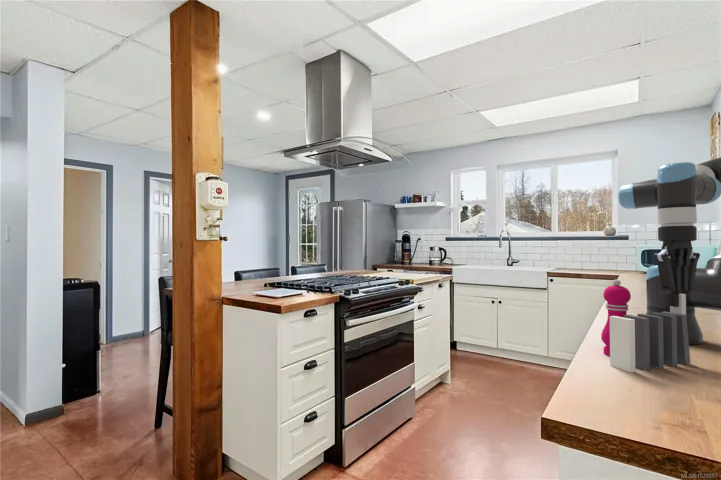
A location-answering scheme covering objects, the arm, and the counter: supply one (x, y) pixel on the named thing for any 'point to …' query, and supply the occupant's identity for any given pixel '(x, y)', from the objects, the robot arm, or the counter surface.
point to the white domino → (622, 343)
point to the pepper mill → (614, 308)
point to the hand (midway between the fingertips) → (678, 319)
